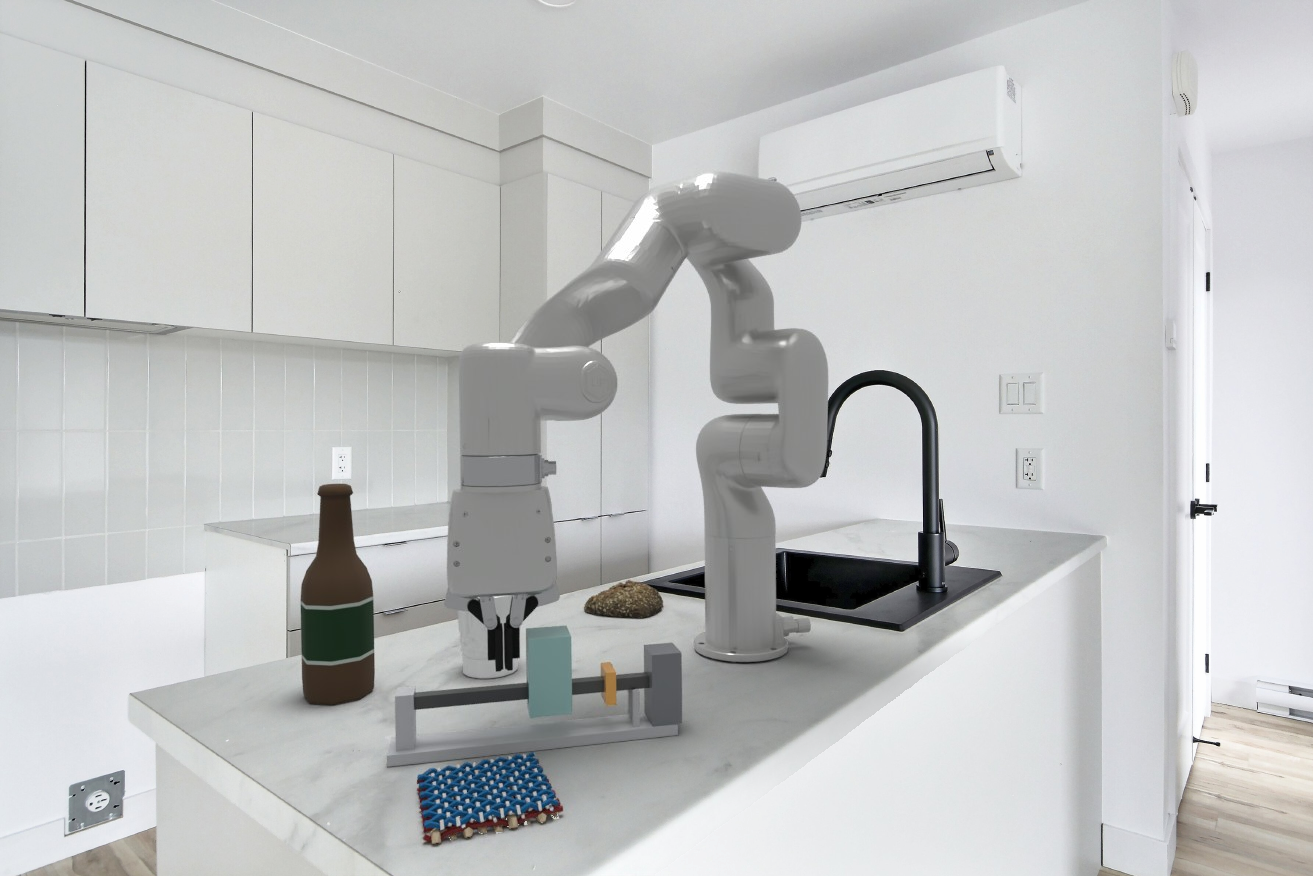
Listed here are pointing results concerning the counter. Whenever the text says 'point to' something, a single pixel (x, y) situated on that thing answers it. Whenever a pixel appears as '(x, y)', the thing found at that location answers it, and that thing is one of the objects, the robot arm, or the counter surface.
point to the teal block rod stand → (654, 722)
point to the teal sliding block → (549, 671)
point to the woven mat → (484, 796)
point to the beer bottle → (337, 609)
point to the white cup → (481, 642)
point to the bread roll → (625, 601)
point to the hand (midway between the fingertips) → (503, 666)
